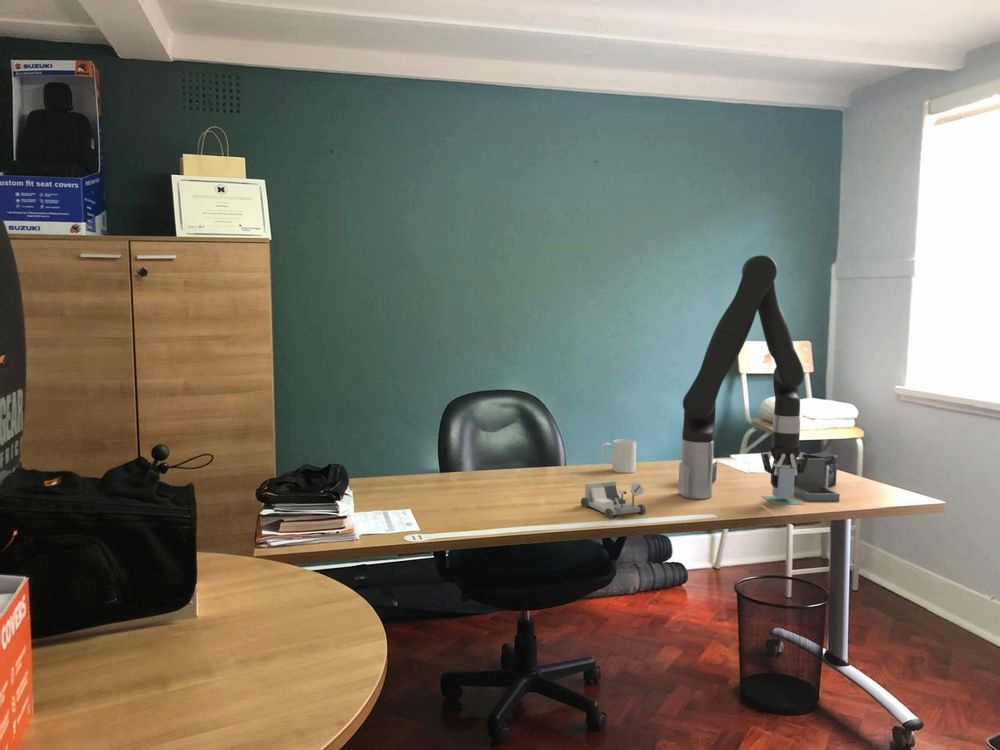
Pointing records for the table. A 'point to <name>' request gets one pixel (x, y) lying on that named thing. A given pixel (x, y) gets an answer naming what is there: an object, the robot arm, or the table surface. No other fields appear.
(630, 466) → the mug
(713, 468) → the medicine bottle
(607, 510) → the toy car
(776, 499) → the pad
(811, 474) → the case
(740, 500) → the table surface
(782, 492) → the module
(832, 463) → the box
